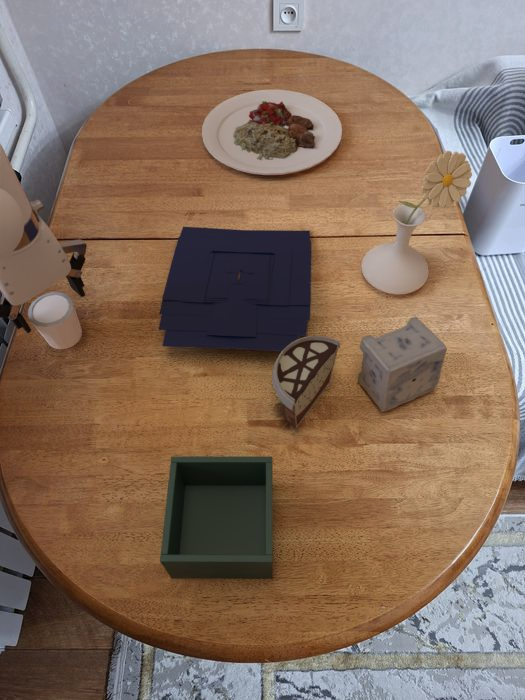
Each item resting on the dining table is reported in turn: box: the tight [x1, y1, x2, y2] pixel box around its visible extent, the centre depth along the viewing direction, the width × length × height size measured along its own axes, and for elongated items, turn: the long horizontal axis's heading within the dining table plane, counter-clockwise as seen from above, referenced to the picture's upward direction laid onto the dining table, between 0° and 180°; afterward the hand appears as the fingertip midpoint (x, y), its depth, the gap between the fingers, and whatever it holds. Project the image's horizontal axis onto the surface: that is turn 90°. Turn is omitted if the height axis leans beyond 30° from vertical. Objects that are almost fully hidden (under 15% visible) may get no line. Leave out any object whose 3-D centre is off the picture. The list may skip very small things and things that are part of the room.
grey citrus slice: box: [271, 335, 341, 429], centre depth 79 cm, size 12×6×10 cm, turn 145°
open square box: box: [159, 456, 274, 580], centre depth 68 cm, size 13×13×8 cm
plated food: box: [201, 89, 343, 176], centre depth 118 cm, size 30×30×3 cm
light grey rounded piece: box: [27, 291, 83, 350], centre depth 87 cm, size 7×7×7 cm
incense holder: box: [357, 316, 448, 413], centre depth 79 cm, size 10×8×10 cm
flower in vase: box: [360, 150, 473, 295], centre depth 86 cm, size 13×11×25 cm
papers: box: [158, 226, 312, 352], centre depth 93 cm, size 24×30×4 cm
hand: (52, 308), depth 85 cm, fingers open, 9 cm apart
